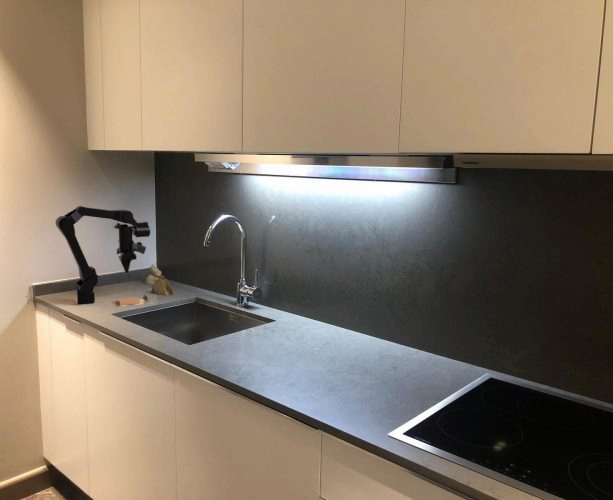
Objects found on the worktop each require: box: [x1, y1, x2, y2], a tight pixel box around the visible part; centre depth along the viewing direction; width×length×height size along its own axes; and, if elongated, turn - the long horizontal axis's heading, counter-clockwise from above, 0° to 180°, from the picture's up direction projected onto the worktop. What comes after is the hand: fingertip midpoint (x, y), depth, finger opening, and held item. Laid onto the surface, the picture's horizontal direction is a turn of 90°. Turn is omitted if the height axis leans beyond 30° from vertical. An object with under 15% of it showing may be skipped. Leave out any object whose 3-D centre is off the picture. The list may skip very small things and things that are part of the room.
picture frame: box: [117, 296, 140, 305], centre depth 239 cm, size 8×2×7 cm
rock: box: [151, 275, 175, 296], centre depth 258 cm, size 11×9×10 cm
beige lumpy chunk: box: [144, 264, 163, 285], centre depth 279 cm, size 6×8×10 cm
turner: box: [143, 294, 153, 305], centre depth 244 cm, size 3×11×1 cm, turn 25°
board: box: [111, 297, 153, 308], centre depth 241 cm, size 16×10×1 cm, turn 115°
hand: (126, 272), depth 247 cm, fingers closed
